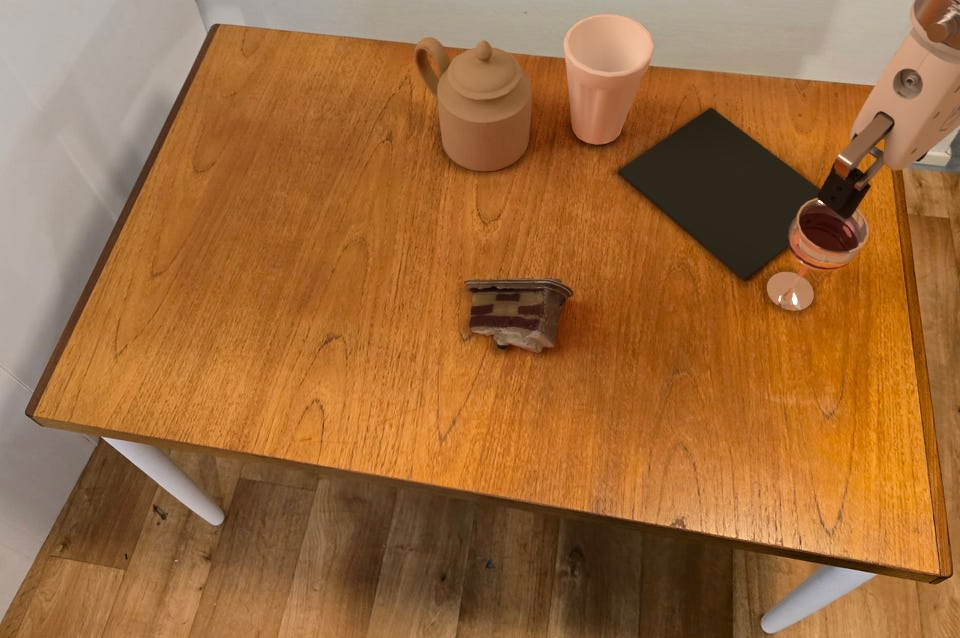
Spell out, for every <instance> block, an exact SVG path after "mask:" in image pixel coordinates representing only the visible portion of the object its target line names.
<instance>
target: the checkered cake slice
mask: <svg viewBox="0 0 960 638" xmlns="http://www.w3.org/2000/svg"><path fill="white" fill-rule="evenodd" d="M462 283H463V284H465V288H466V289H465V290H466V291H467V292H469V293H471V294H472V298H471V302H472V306H471V308H470V313H469V318H470V319H469V324H468V326H469V329H470V330H471V331H472V333H476V334H479V335H485V336H487V337H490V336H493V340H494V341H496V343H497V345H496V347H497V348H498V349H499V350H506V348H507V347H508V346H509V345H511V346H514V347H519V348H521V349H523V350H526V351H530V352H534V353H536V354H538V353H542V351H543V348H554V347H555V346H556V339H557V338H556V336H557V335H556V334H557V331H558V329H559V322H560V321H559V320H560V317H561V311H562V308H563V307H564V304H565V303H566V302H567V301H568V299H569V298H572V297H573V296H574V292H575V291H574V290H573V289H572V288H571V287H570V286H568V285H566V284H564V283H562V279H560V278H553V277H548V278H531V277H530V278H524V277H523V278H507V279H505V278H504V279H503V278H502V279H500V278H498V279H497V278H489V279H479V278H475V279H470V278H468V279H465V280H463V281H462Z"/></svg>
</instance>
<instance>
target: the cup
mask: <svg viewBox="0 0 960 638" xmlns="http://www.w3.org/2000/svg"><path fill="white" fill-rule="evenodd" d="M654 43H655V42H654V40H653V36H652V34H651V33H650V32H649V31H648V30H647V29H646V28H645V27H644V26H643V25H642V24H641V23H640V22H638V21H636V20H634V19H632V18H629V17H627V16H622V15H617V14H613V13H606V14H594V15H590V16H588V17H586V18H583V19H581V20H578V21H577V22H576V23H575V24H574V25H573V26H571V27H570V28H569V29H568V30H567V32H566V34H565V37H564V40H563V57H564V61H565V66H566V67H565V68H566V78H567V89H568V99H569V100H568V101H569V110H570V112H569V113H570V121H571V123H570V124H571V129H572V132H573V134H574V135H575V136H576V138H578V139H579V140H581V141H583V142H584V143H586V144H591V145H595V146H597V145H605V144H608V143H611V142H613V141H615V140H617V138H618V137H619V136H620V135H621V133H622V129H623V127H624V124H625V123H626V119H627V117H628V114H629V112H630V109H631V107H632V104H633V102H634V99H635V96H636V94H637V91H638V89H639V86H640V83H641V81H642V78H643V77H644V75H645V73H647V72H648V69H649V66H650V64H651V61H652V58H653V55H654V52H655V47H656V46H655V44H654Z"/></svg>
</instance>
